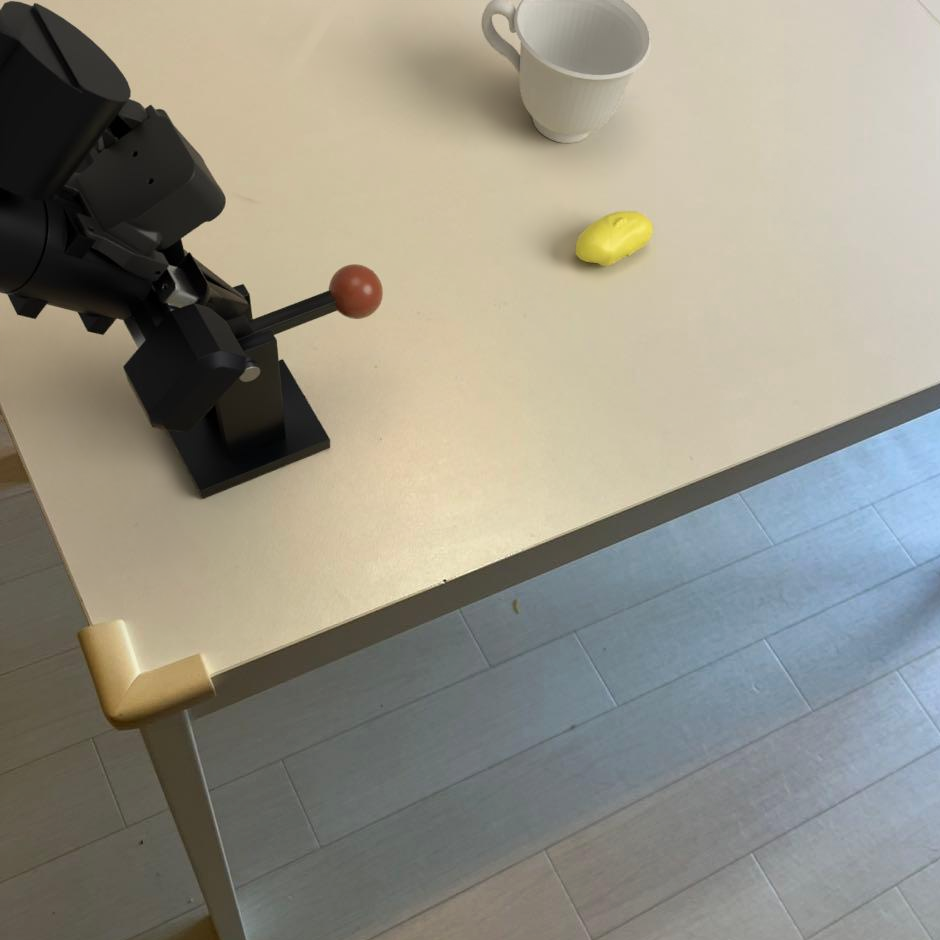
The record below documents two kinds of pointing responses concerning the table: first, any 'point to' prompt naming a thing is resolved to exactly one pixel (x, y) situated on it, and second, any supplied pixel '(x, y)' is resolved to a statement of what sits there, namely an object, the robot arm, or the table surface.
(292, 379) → the bracket
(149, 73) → the table surface
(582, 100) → the teacup
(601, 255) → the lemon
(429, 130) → the table surface
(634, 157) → the table surface
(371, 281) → the lever
